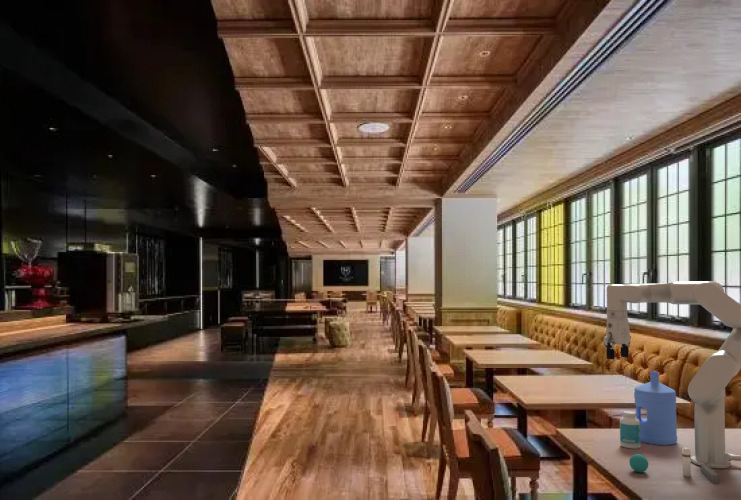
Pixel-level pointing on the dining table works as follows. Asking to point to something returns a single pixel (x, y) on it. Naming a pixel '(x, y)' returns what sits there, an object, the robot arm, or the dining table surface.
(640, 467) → the ball
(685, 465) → the pin
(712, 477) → the grey block
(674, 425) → the water jug
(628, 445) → the pill bottle
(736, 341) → the robot arm
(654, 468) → the dining table surface
